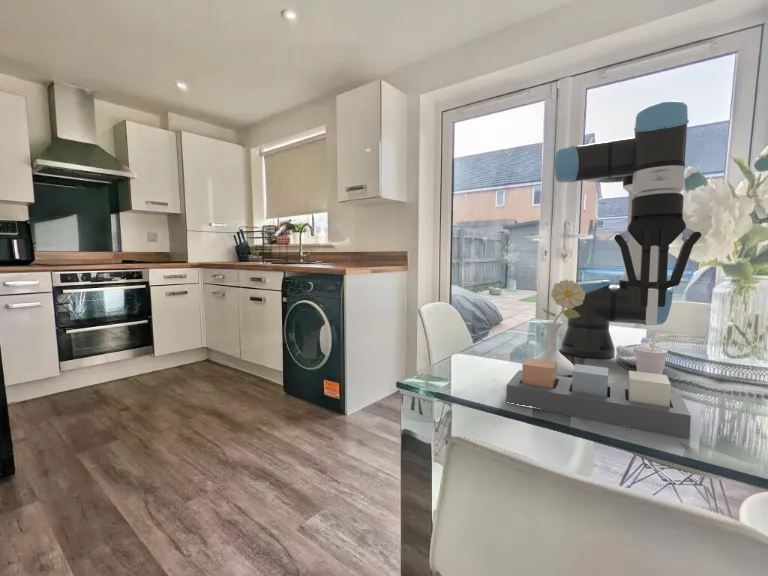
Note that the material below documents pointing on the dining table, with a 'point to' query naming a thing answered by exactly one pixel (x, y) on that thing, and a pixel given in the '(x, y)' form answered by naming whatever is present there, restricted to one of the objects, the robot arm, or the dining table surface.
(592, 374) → the key slate
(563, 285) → the flower in vase
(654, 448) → the dining table surface
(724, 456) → the dining table surface
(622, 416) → the console
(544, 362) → the key terracotta
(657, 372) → the smoothie
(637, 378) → the key cream
